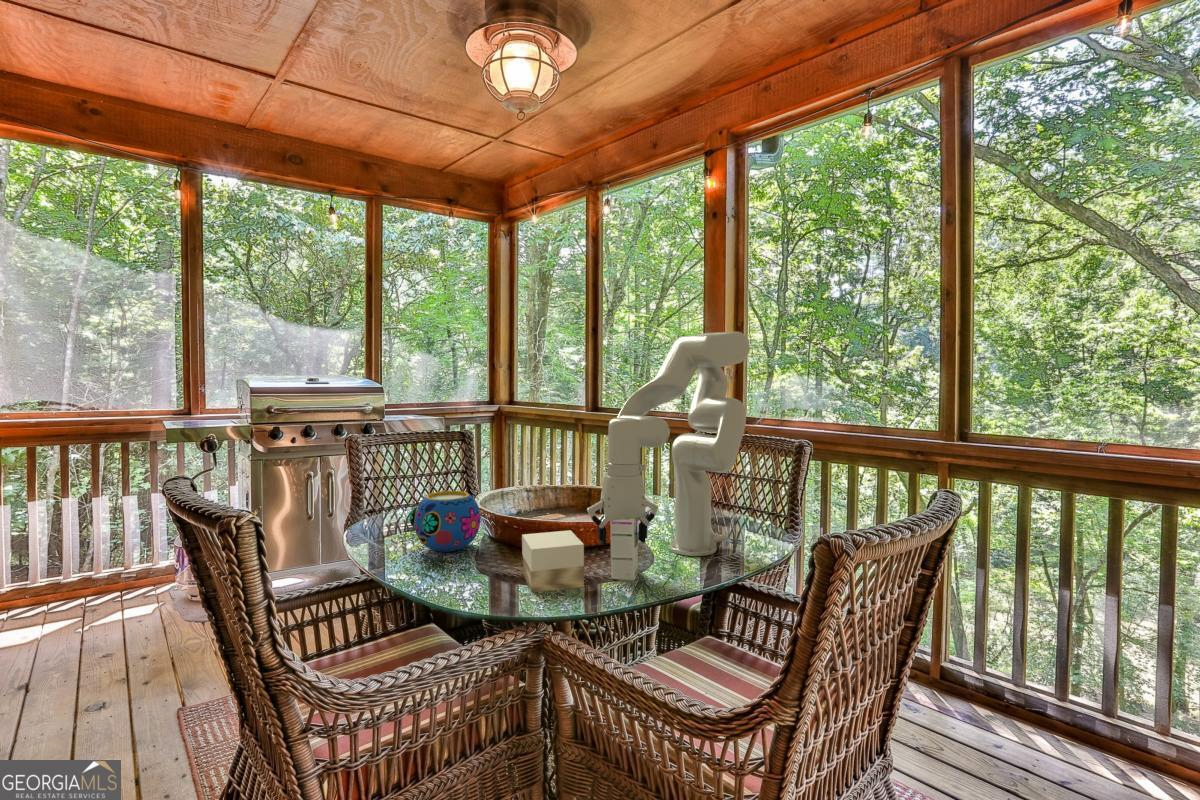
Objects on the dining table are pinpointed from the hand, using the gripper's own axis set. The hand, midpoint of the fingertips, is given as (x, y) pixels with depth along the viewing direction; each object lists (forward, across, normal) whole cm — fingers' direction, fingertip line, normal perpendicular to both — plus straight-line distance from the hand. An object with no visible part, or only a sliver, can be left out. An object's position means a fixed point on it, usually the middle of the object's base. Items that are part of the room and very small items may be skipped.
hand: (622, 542), depth 140 cm
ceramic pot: (+9, +39, -34) cm, 52 cm away
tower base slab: (+9, +16, -2) cm, 19 cm away
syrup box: (+8, -1, 0) cm, 9 cm away
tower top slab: (+4, +16, -3) cm, 17 cm away
